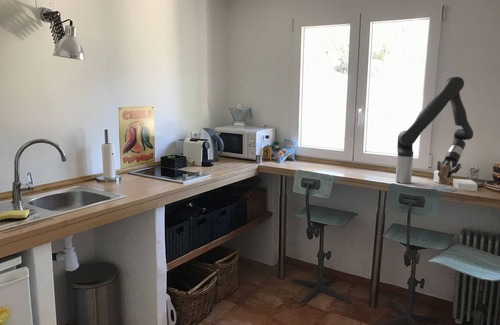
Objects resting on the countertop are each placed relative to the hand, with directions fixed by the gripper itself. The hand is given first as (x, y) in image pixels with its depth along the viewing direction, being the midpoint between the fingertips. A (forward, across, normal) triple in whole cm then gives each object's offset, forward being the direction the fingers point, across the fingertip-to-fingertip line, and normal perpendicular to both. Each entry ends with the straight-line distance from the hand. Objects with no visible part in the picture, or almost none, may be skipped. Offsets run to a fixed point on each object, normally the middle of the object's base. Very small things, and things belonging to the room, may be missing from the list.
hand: (443, 176), depth 236 cm
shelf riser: (-5, +6, +16) cm, 18 cm away
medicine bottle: (-9, -10, +20) cm, 24 cm away
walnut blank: (+2, 0, +5) cm, 5 cm away
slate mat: (+4, 0, +7) cm, 8 cm away
